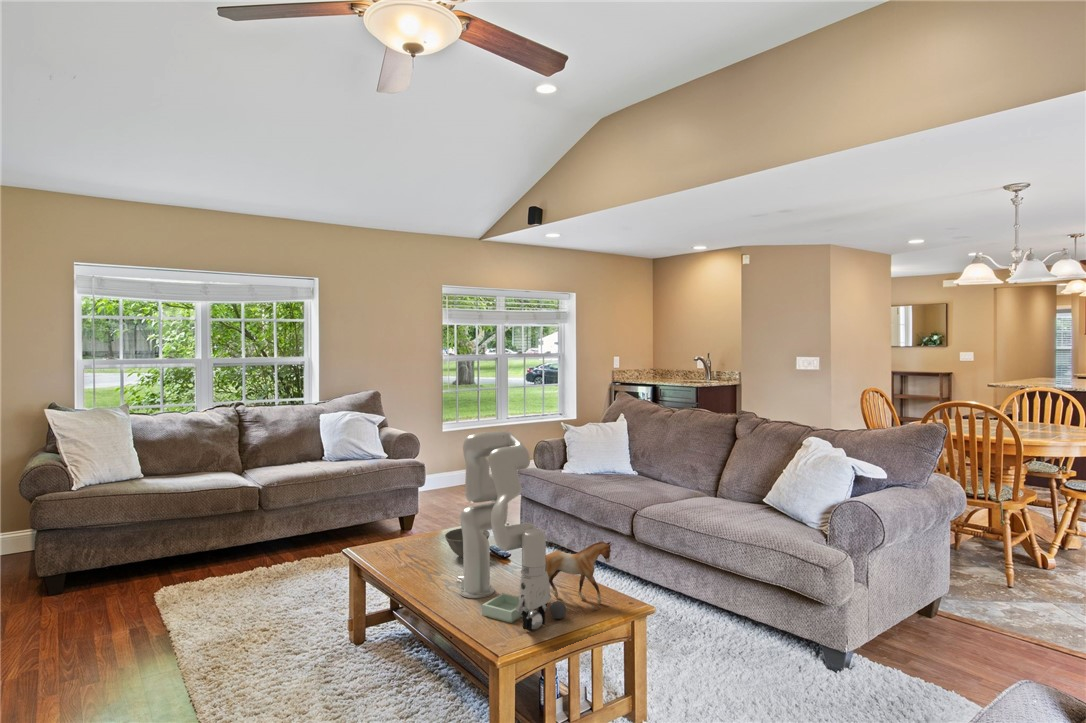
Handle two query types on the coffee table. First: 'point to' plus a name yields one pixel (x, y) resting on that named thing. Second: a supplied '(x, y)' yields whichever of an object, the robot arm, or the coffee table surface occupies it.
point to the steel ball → (536, 619)
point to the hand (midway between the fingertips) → (534, 625)
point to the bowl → (458, 540)
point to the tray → (502, 608)
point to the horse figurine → (577, 564)
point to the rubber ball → (558, 610)
